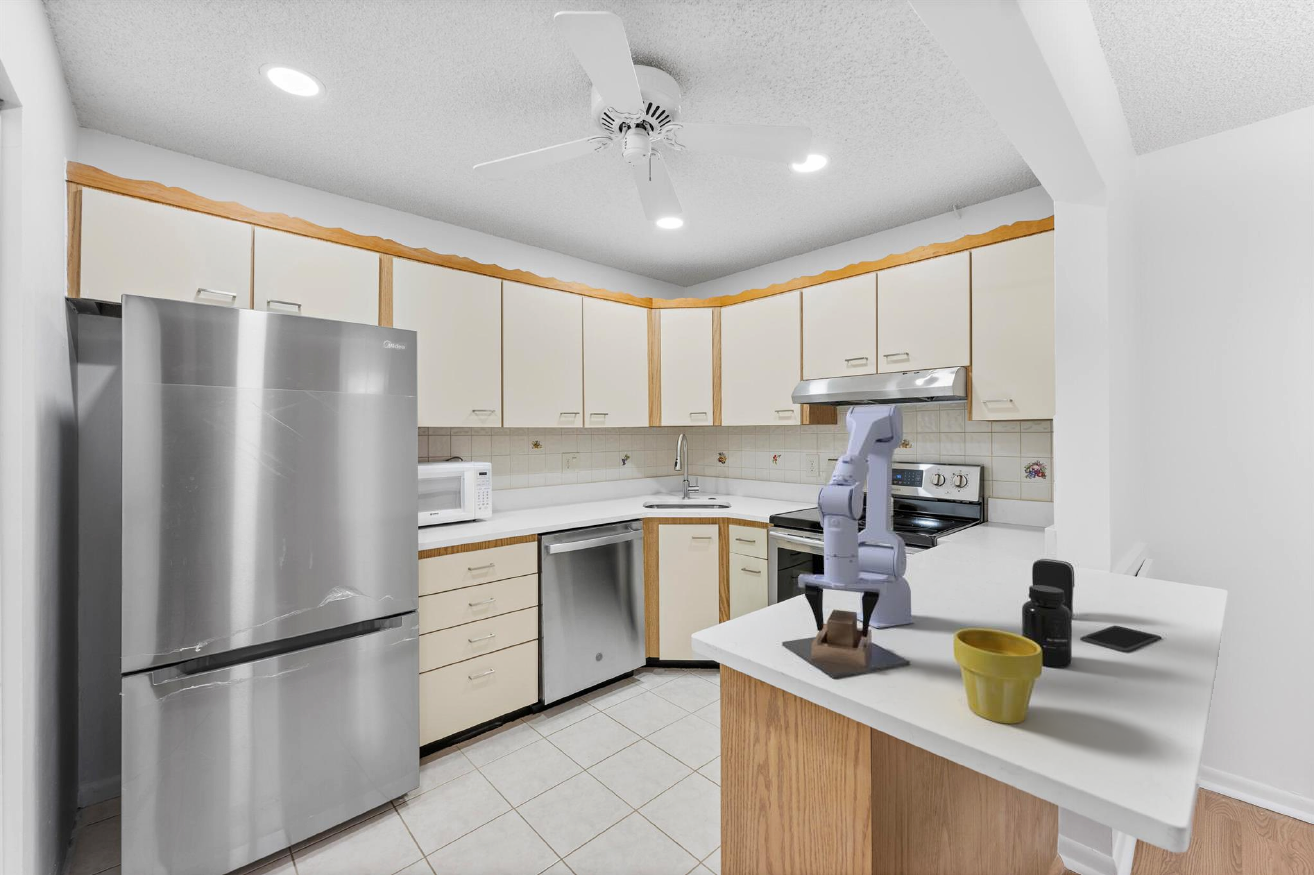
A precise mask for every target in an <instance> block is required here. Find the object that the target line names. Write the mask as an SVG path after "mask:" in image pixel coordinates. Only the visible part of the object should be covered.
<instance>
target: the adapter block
mask: <svg viewBox="0 0 1314 875" xmlns="http://www.w3.org/2000/svg"><path fill="white" fill-rule="evenodd" d="M857 613H858V612H856V611H849V610H841V609H833V610H832V611H831V613H830V615H829V617H828V618H827V620H826V624H827V644H831V645H837V646H844V647H851V648H857V628H858V619H857Z"/></svg>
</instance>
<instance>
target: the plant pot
mask: <svg viewBox="0 0 1314 875" xmlns="http://www.w3.org/2000/svg"><path fill="white" fill-rule="evenodd" d="M953 657H954V660H955V662H956V663H957V664H958V665H959V667H960V673H961V677H962V681H963V685H964V691H965V694H966V700H967V705H968V707H969V710H971V711H972V712H973V713H974V714H975V715H977V716H979V717H981V718H983V719H985V720H989V721H992V722H995V723H1000V724H1008V725H1009V724H1021V723H1022V722H1023V721H1025V720H1026V717H1027V713H1028V709H1029V705H1030V701H1031V697H1032V694H1033V693H1032V692H1033V689H1034V685H1035V681H1036V680H1037V679H1039V678H1040V676H1042V671H1043V665H1042V649H1041V647H1040V646H1039V645H1038V644H1037V643H1035V642H1034V641H1032V640H1030V639H1028V638H1025V637H1023V636H1022V635H1019V634H1016V633H1013V632H1007V631H1003V630H998V629H991V628H982V627H981V628H980V627H979V628H977V627H976V628H974V627H973V628H971V627H970V628H963V629H959V630H957V631H956V632H955V633H953Z"/></svg>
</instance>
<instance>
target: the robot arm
mask: <svg viewBox="0 0 1314 875" xmlns="http://www.w3.org/2000/svg"><path fill="white" fill-rule="evenodd" d="M903 417H904V416H903V412H902V409H901V407H899V405H898V404H892V405H877V406H876V405H874V406H851V407H850V408H849V410H847V414H846V419H845V420H846V421H845V423H846V424H845V425H846V429H847V432H848V435H849V441H848V445H847V450H846V454H843V455H841V456H839V458H838V459H837V462H836V463H835V466H834V469H833V473H832V474H831V476H830V480H829V481H828V484H826V485H824V487H821V488H820V489H819V491H818V495H817V501H816V503H817V504H816V505H817V506H816V507H817V511H818V514H819V521H820V526H821V527H822V528H823V568H824V569H823V572H824V573H823V574H802V573H801V574H799V576H798V578H797V580H798V588H800V589H802V588H803V589H804V588H805V590H804V592H803V593H804V597H805V599H806V601H807V603H808V604H809V606H810V608H811V611H812V614H813V616H814V619H815V623H816V630H817V631H818V632H819V631H822V629H823V624H825V623H824V621H825V620H824V610H823V608H824V607H823V605H824V604H823V603H824V602H823V600H824V590H832V591H841V592H843V591H844V592H851V593H859V596H860V601H859V602H860V608H859V609H860V612H857V621H860V622H862V627H861V628H862V637H867V635H868V629H869V627H870V626H871V627H873V628H876V629H883V628H887V627H894V626H895V627H896V626H901V625H902V626H903V625H907V624H913V623H915V619H912V595H911V594H912V591H911V587H910V584H909V582H908V580H907V579H906V578H905V577H904V576H905V574H906V572H907V571H906V570H907V562H908V561H907V553H906V543H905V541H904V540H903V538H902V537H901V536H900V535H898V534H897V533H895V531H894V530H892V529H891V528H892V527H891V524H892V519H891V518H892V487H893V484H892V482H893V481H892V480H893V456H894V453H895V452H894V451H895V450H896V449H898V448H900V447H902V445H903V443H902V442H903V439H904V418H903ZM866 481H867V483H866ZM865 484H866V511H865V512H866V513H865V516H866V517H865V528H864V529H863V530H861V531H860V532H859V519H860V518H861V515H862V514H863V509H864V497H865V493H864V490H863V489H864V487H865ZM868 542H869V543H868ZM871 543H876V544H871ZM877 543H878V544H877ZM882 544H887V545H882Z"/></svg>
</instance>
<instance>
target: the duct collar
mask: <svg viewBox="0 0 1314 875" xmlns="http://www.w3.org/2000/svg"><path fill="white" fill-rule="evenodd" d="M872 637H873V636H872V629H869V628H868V635H867V637H862V627H861V628H860V627H857V648H851V647H844V646H837V645H831V644H827V623H824V624H823V629H822V631H818V632H817V634H816V636H813V637H806V638H805V637H804V638H799V639H793V640H786V641H782V642H781V646H783V647H784V648H786V649H788V650H789V651H790V652H792V654H795V655H796V656H798V657H800V658H801V659H802V660H804V661H805V662H807V663H808V664H810V665H811V666H813V667H814V666H815V668H816V669H817V668H818V669H817V670H819V671H820V670H821V672H822V673H823V672H824V674H825V675H827V676H828V675H829V676H828V677H829V678H831V679H833V680H834V679H838V678H839V677H840V678H845V677H846V678H847V677H850V676H849V675H851V676H857V675H861V674H867V672H868V673H872V672H878V671H877V670H879V671H882V670H883V669H884V670H888V668H890V669H894V667H895V668H899V666H901V667H904V666H905V667H906V666H910V665H911V664H910V663H911V662H910V660H908V659H906V658H904V657H902V656H900V655H898V654H896V653H894V652H893V651H891V650H888V649H886V648H884V647H882V646H880V645H878V644H876V643H875V642H873V641H872ZM856 674H857V675H856ZM840 678H839V679H840Z"/></svg>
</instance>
